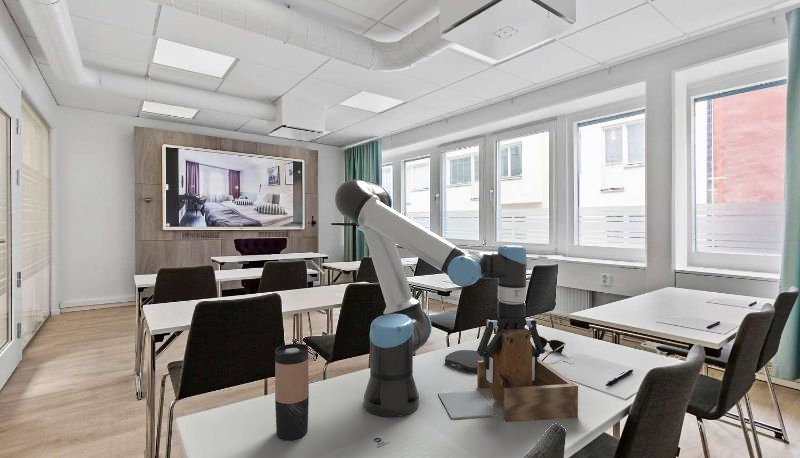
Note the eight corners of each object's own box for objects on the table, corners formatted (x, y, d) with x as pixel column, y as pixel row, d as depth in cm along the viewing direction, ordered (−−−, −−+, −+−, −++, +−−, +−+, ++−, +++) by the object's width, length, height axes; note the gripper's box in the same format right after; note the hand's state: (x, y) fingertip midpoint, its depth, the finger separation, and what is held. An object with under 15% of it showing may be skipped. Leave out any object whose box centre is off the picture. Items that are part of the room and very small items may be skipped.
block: (517, 389, 113) (518, 321, 112) (534, 401, 106) (536, 328, 105) (485, 395, 109) (486, 325, 108) (501, 407, 102) (502, 332, 101)
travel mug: (311, 423, 95) (311, 343, 95) (305, 441, 88) (304, 353, 87) (280, 424, 95) (280, 343, 95) (271, 441, 88) (270, 354, 87)
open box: (506, 422, 96) (506, 390, 96) (477, 386, 117) (477, 360, 117) (577, 417, 99) (578, 386, 99) (537, 383, 120) (537, 357, 119)
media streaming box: (499, 365, 136) (499, 356, 136) (474, 376, 126) (474, 367, 126) (466, 354, 146) (466, 346, 146) (440, 364, 137) (440, 355, 137)
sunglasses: (566, 355, 146) (565, 342, 146) (544, 368, 136) (544, 354, 135) (532, 346, 157) (532, 334, 156) (510, 357, 146) (509, 344, 146)
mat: (451, 419, 98) (451, 417, 98) (438, 394, 111) (438, 393, 111) (496, 415, 99) (496, 414, 99) (478, 392, 113) (478, 390, 113)
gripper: (474, 305, 101) (473, 387, 102) (558, 303, 105) (557, 383, 105) (465, 299, 109) (464, 376, 109) (544, 297, 112) (543, 372, 113)
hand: (510, 379), depth 107 cm, fingers closed on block, 11 cm apart
